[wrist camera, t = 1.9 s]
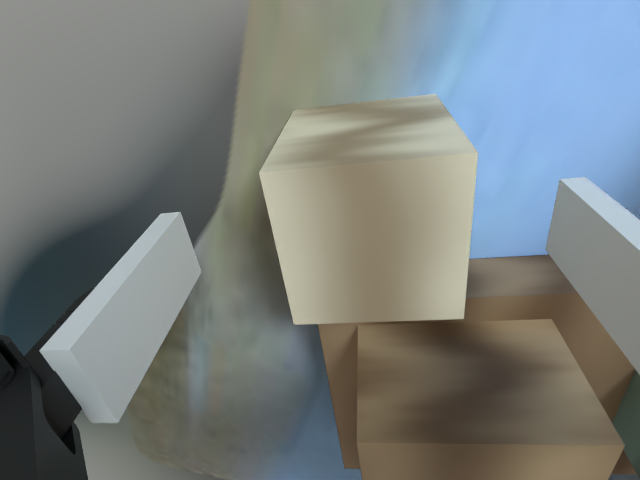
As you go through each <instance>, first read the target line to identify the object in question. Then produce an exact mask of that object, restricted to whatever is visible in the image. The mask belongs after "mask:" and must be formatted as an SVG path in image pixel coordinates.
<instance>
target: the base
mask: <svg viewBox="0 0 640 480" xmlns="http://www.w3.org/2000/svg"><path fill="white" fill-rule="evenodd" d="M318 328H319V333H320V339H321V344H322V349H323V355H324V360H325V365H326V371H327V376H328V382H329V387H330V392H331V398H332V403H333V409H334V414H335V419H336V425H337V430H338V436H339V441H340V446H341V452H342V457H343V463H344V468H350V469H361V475H362V480H608V479H609V477H610V475H611V474H636V475H638V477H639V478H640V375H639V373H638V372H637V371H636V369H635V368H634V367H633V365H632V364H631V363H630V361H629V360H628V359H627V357H626V356H625V355H624V353H623V352H622V351H621V349H620V348H619V347H618V345H617V344H616V343H615V341H614V340H613V339H612V337H611V336H610V335H609V333H608V332H607V331H606V329H605V328H604V327H603V325H602V324H601V323H600V322H599V320H598V319H597V318H596V316H595V315H594V314H593V312H592V311H591V310H590V308H589V307H588V306H587V304H586V303H585V302H584V300H583V299H582V298H581V296H580V295H579V294H578V292H577V291H576V290H575V288H574V287H573V286H572V284H571V283H570V282H569V280H568V279H567V278H566V276H565V275H564V274H563V272H562V271H561V270H560V268H559V267H558V266H557V264H556V263H555V262H554V260H553V259H552V258H551V256H550V255H535V256H516V257H498V258H480V259H469V264H468V276H467V288H466V299H465V311H464V319H450V320H420V321H391V322H361V323H331V324H318Z"/></svg>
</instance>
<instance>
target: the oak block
mask: <svg viewBox="0 0 640 480" xmlns="http://www.w3.org/2000/svg"><path fill="white" fill-rule="evenodd" d="M477 159H478V152H477V151H476V149H475V148H474V146H473V145H472V144H471V142H470V141H469V139H468V138H467V137H466V135H465V134H464V132H463V131H462V130H461V128H460V127H459V125H458V124H457V123H456V121H455V120H454V119H453V117H452V116H451V114H450V113H449V112H448V110H447V109H446V107H445V106H444V105H443V103H442V102H441V100H440V99H439V98H438V96H437V95H436V94H429V95H421V96H412V97H403V98H394V99H386V100H377V101H368V102H360V103H351V104H342V105H333V106H325V107H316V108H307V109H299V110H294V111H293V113H292V114H291V116H290V118H289V120H288V122H287V123H286V125H285V127H284V129H283V131H282V132H281V134H280V136H279V138H278V140H277V141H276V143H275V145H274V147H273V149H272V150H271V152H270V154H269V156H268V158H267V159H266V161H265V163H264V165H263V167H262V168H261V170H260V172H259V175H260V179H261V183H262V188H263V192H264V196H265V201H266V205H267V209H268V214H269V218H270V222H271V227H272V231H273V236H274V240H275V244H276V249H277V253H278V257H279V262H280V266H281V270H282V275H283V279H284V283H285V288H286V292H287V297H288V301H289V305H290V310H291V314H292V318H293V323H294V325H301V324H331V323H361V322H391V321H420V320H450V319H464V311H465V299H466V288H467V276H468V264H469V252H470V241H471V229H472V217H473V206H474V194H475V182H476V170H477Z"/></svg>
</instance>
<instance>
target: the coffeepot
mask: <svg viewBox="0 0 640 480" xmlns="http://www.w3.org/2000/svg"><path fill="white" fill-rule="evenodd" d="M608 480H640V478H639V477H638V475H636V474H611V475H610V477H609V479H608Z"/></svg>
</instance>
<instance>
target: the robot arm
mask: <svg viewBox="0 0 640 480" xmlns="http://www.w3.org/2000/svg"><path fill="white" fill-rule="evenodd" d="M546 251H547V252H548V254H549V255H550V256H551V258H552V259H553V260H554V262H555V263H556V264H557V266H558V267H559V268H560V270H561V271H562V272H563V274H564V275H565V276H566V278H567V279H568V280H569V282H570V283H571V284H572V286H573V287H574V288H575V290H576V291H577V292H578V294H579V295H580V296H581V298H582V299H583V300H584V302H585V303H586V304H587V306H588V307H589V308H590V310H591V311H592V312H593V314H594V315H595V316H596V318H597V319H598V320H599V322H600V323H601V324H602V325H603V327H604V328H605V329H606V331H607V332H608V333H609V335H610V336H611V337H612V339H613V340H614V341H615V343H616V344H617V345H618V347H619V348H620V349H621V351H622V352H623V353H624V355H625V356H626V357H627V359H628V360H629V361H630V363H631V364H632V365H633V367H634V368H635V369H636V371H637V372H638V373H639V375H640V220H639V219H638V218H637V217H635V216H634V215H633V214H632V213H630V212H629V211H628V210H627V209H625V208H624V207H623V206H621V205H620V204H619V203H618V202H616V201H615V200H614V199H613V198H611V197H610V196H609V195H607V194H606V193H605V192H604V191H602V190H601V189H600V188H599V187H597V186H596V185H595V184H593V183H592V182H591V181H590V180H588V179H587V178H586V177H579V178H568V179H560V181H559V186H558V191H557V195H556V200H555V205H554V210H553V215H552V220H551V225H550V230H549V235H548V240H547V245H546ZM201 272H202V271H201V268H200V266H199V263H198V260H197V257H196V254H195V252H194V249H193V246H192V243H191V241H190V238H189V235H188V232H187V230H186V227H185V224H184V221H183V218H182V215H181V213H180V212H175V213H164V214H160V215H159V216H158V218H157V219H156V220H155V221H154V222H153V223H152V224H151V225H150V227H149V228H148V229H147V230H146V231H145V232H144V233H143V234H142V236H141V237H140V238H139V239H138V240H137V241H136V242H135V244H134V245H133V246H132V247H131V248H130V249H129V250H128V251H127V253H126V254H125V255H124V256H123V257H122V258H121V259H120V260H119V262H118V263H117V264H116V265H115V266H114V267H113V268H112V269H111V270H110V272H109V273H108V274H107V275H106V276H105V277H104V278H103V280H102V281H101V282H100V283H99V284H98V285H97V286H96V287H95V288H92V289H90V290H89V291H88V292H86V293H85V294H83V295H82V296H81V297H79V298H78V299H77V300H75V302H74V303H73V304H72V305H71V306H70V307H69V308H68V309H67V310H66V313H65V314H63V315H62V316H61V317H60V318H59V319H58V320H57V321H56V324H54V325H53V326H52V327H51V328H50V329H49V330H48V331H47V332H46V333H45V334H44V335H43V337H42V338H41V339H40V340H39V341H38V342H37V343H36V344H35V345H34V346H33V347H32V349H31V350H30V351H29V352H28V353H27V354H26V355H25V356H23V355H22V353H21V352H20V351H19V349H18V348H17V347H16V345H15V344H14V343H13V342H12V340H11V339H10V338H9V337H8V336H4V335H0V480H88V477H87V471H86V466H85V460H84V455H83V449H82V444H81V439H80V433H79V430H78V428H77V426H76V424H75V423H74V422H73V421H74V420H75V418H76V417H77V415H78V414H79V412H80V411H81V409H82V411H83V412H84V413H85V415H86V416H87V418H88V419H89V420H90V422H91V423H118V422H119V420H120V419H121V417H122V415H123V413H124V411H125V410H126V408H127V406H128V404H129V402H130V401H131V399H132V397H133V395H134V393H135V392H136V390H137V388H138V386H139V384H140V383H141V381H142V379H143V377H144V375H145V373H146V372H147V370H148V368H149V366H150V364H151V363H152V361H153V359H154V357H155V355H156V354H157V352H158V350H159V348H160V346H161V345H162V343H163V341H164V339H165V337H166V336H167V334H168V332H169V330H170V328H171V326H172V325H173V323H174V321H175V319H176V317H177V316H178V314H179V312H180V310H181V308H182V307H183V305H184V303H185V301H186V299H187V298H188V296H189V294H190V292H191V290H192V289H193V287H194V285H195V283H196V281H197V279H198V278H199V276H200V274H201Z"/></svg>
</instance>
